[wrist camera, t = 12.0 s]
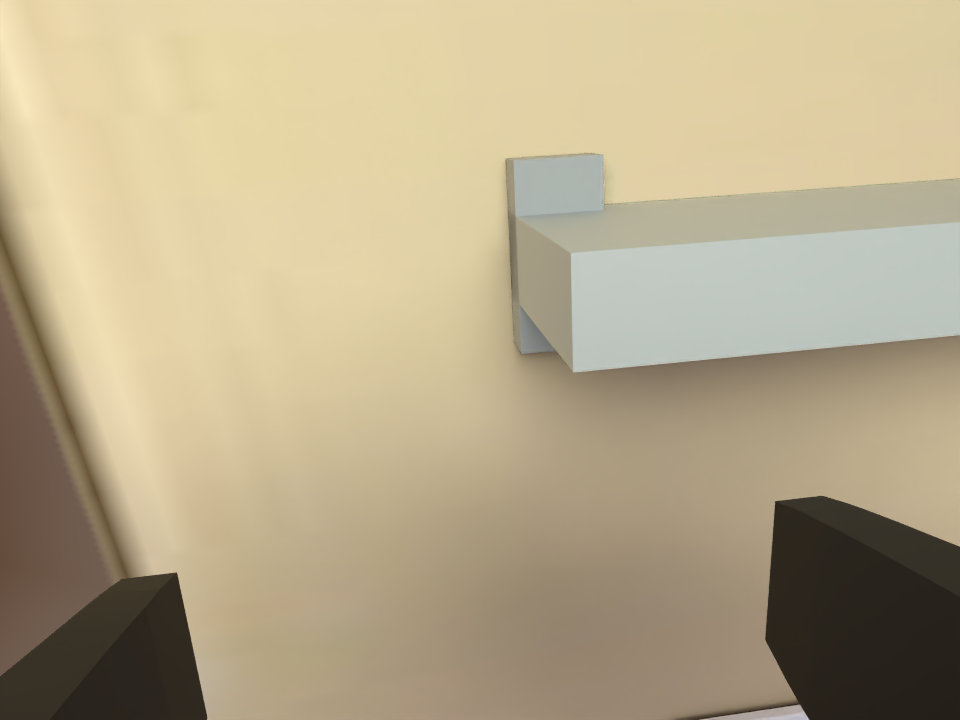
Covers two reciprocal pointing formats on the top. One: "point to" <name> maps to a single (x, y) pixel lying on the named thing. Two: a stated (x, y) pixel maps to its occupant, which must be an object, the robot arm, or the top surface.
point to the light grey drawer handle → (724, 268)
